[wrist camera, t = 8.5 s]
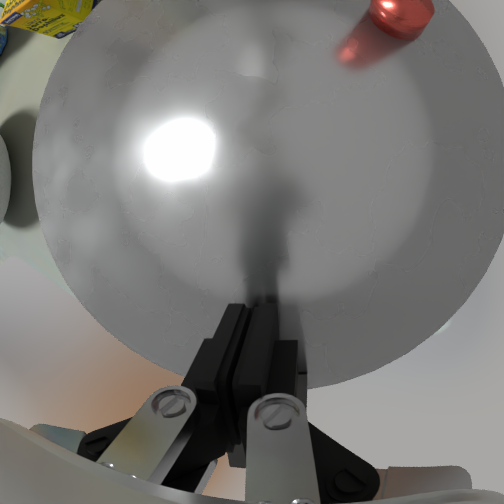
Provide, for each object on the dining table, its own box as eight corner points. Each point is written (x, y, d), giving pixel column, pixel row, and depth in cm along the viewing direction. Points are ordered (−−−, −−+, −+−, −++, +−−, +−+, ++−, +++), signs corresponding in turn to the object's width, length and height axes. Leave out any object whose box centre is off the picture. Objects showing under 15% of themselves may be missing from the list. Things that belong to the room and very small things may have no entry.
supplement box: (59, 40, 23) (-3, 25, 13) (67, 5, 21) (11, -16, 11) (93, 25, 22) (29, 0, 12) (101, -11, 20) (45, -41, 10)
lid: (76, -1, 11) (53, -17, 8) (424, -50, 7) (433, -76, 4) (93, 417, 15) (69, 440, 12) (468, 428, 11) (485, 457, 8)
